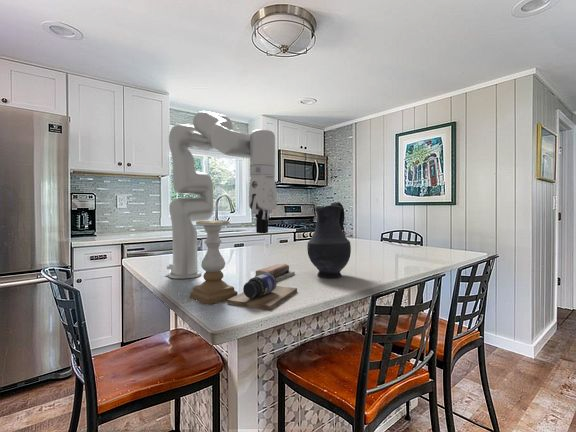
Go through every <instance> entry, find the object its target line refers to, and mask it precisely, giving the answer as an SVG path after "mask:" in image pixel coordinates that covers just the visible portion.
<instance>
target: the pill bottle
mask: <svg viewBox="0 0 576 432" xmlns="http://www.w3.org/2000/svg"><path fill="white" fill-rule="evenodd" d="M277 283H278V282H277V281H276V278H275V277H274V275H272V274H271V273H264V274H262V275H259V276H256V277H255V276H254V277H252V278H250V279H249V280H248V281H247V282H246V283H245V284H244V285H243V288H242V289H243V290H242V291H243V292H244V294H245V295H246V296H247V297H248V298H254V297H255V298H259V297H261V296H263V295H265V294H267V293H269V292H271V291H273V290H274V289H275V288H276V286H278V285H277Z"/></svg>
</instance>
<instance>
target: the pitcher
mask: <svg viewBox="0 0 576 432" xmlns="http://www.w3.org/2000/svg"><path fill="white" fill-rule="evenodd" d="M313 207H314V209H315V213H316V222H315V223H316V224H315V229H314V232H313V234H312V236H311V238H310V240H308V242H307V245H306V246H307V256H308V258H309V260H310V262H311V263H312V265H313V266H314V267H315V268H316V269H317V271H318V273H317V277H318V278H323V279H337V278H340V277H342V274H341V271H342V270H344V268H345V267H346V266H347V265H348V263H349V260H350V257H351V253H352V245H351V241H350V239H348V238H347V236H346V235H345V234H344V232H343V231H344V225H345V224H344V223H345V208H344V206H343V204H342V203H341V202H339V201H336V202H332V203H331V204H330V205H325V206H318V205H314V206H313Z"/></svg>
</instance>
